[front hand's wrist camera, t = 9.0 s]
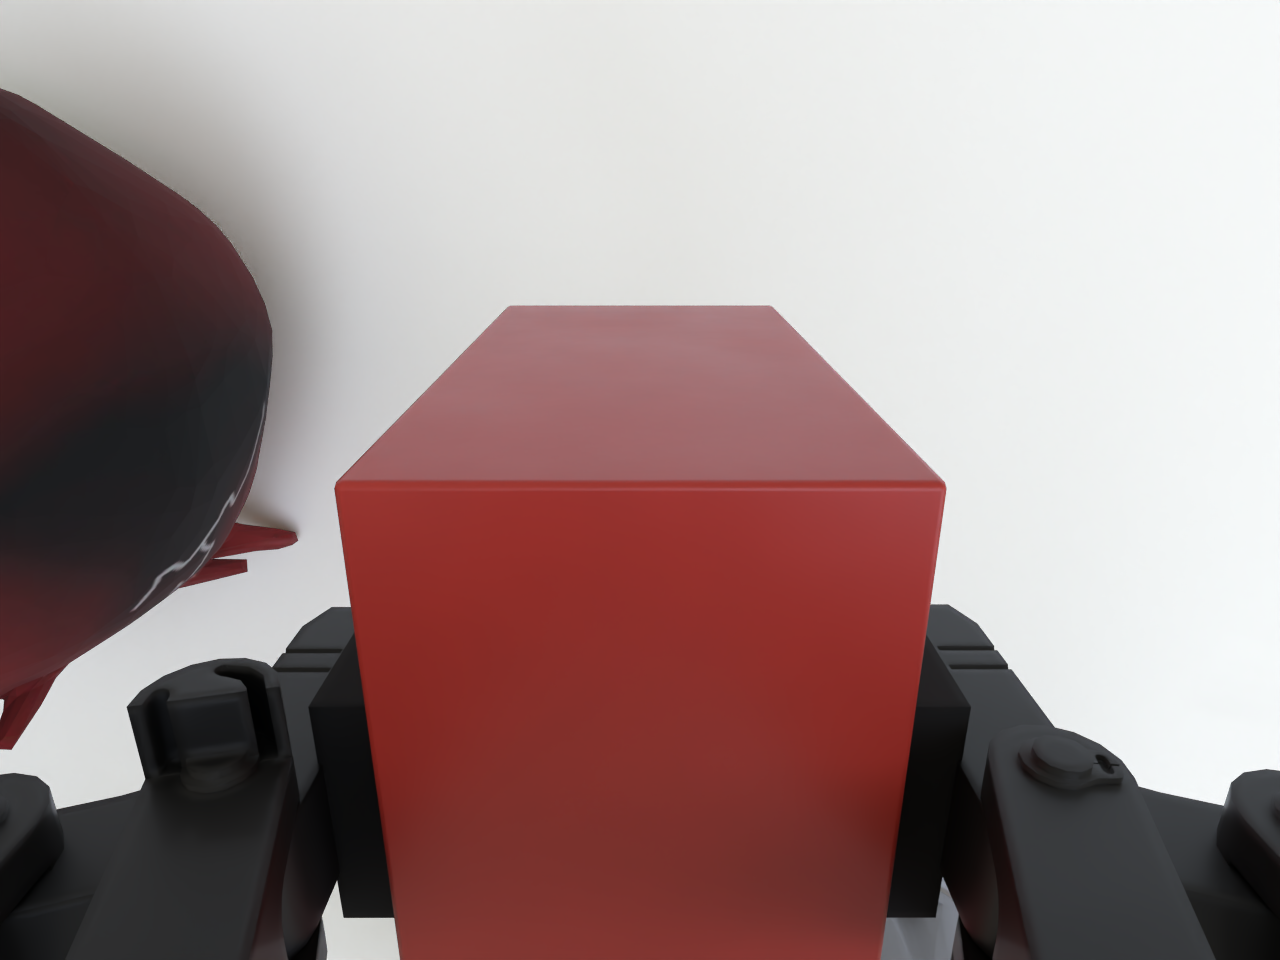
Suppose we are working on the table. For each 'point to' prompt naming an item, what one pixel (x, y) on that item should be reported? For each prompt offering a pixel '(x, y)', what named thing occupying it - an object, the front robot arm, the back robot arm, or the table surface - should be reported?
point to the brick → (640, 642)
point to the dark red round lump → (114, 400)
